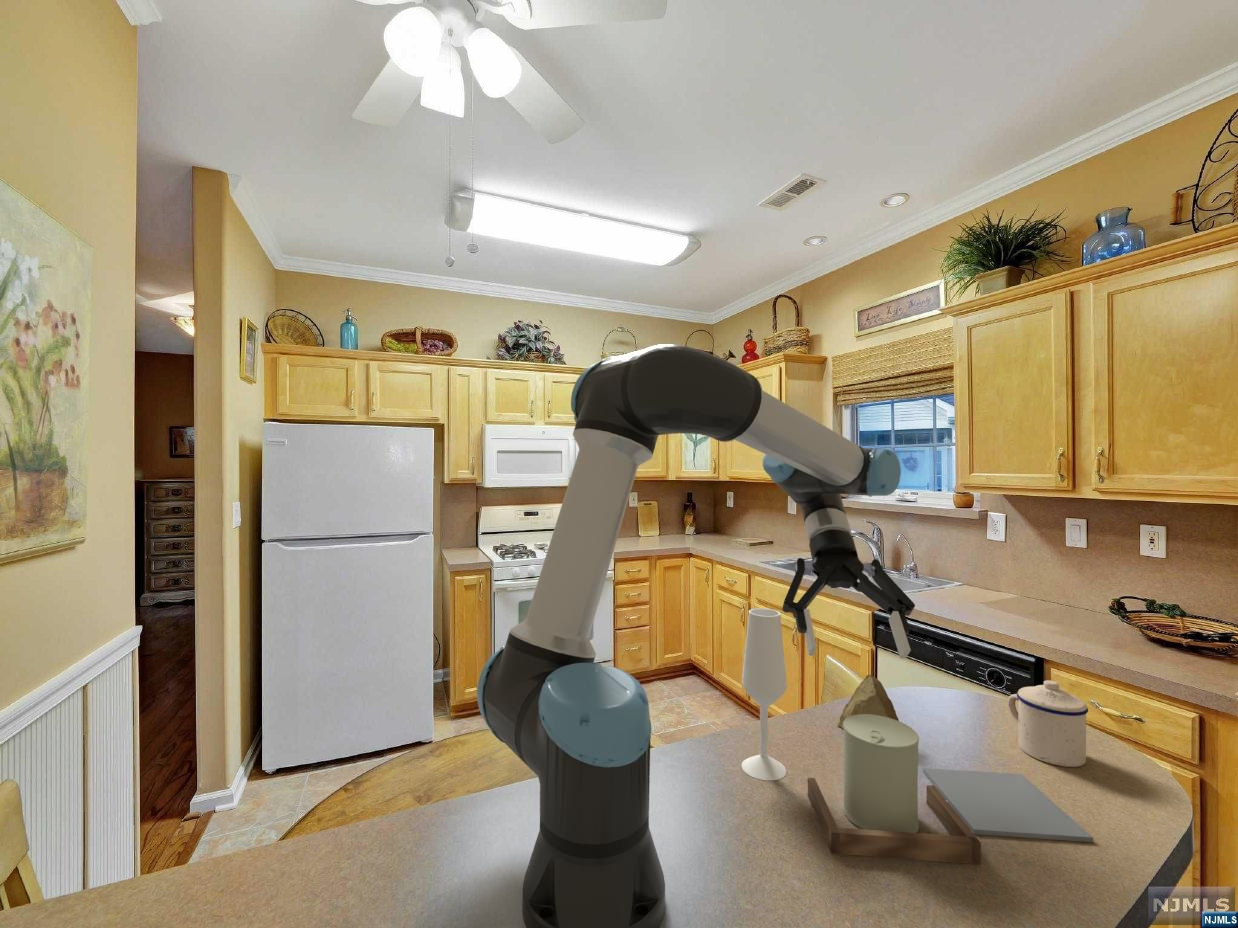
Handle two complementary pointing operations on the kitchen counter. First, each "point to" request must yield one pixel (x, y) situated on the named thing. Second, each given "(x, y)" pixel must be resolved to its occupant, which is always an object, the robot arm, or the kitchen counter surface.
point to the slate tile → (1004, 805)
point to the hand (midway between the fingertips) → (858, 653)
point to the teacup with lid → (1050, 724)
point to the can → (880, 774)
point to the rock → (869, 701)
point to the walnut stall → (901, 834)
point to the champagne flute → (764, 682)
